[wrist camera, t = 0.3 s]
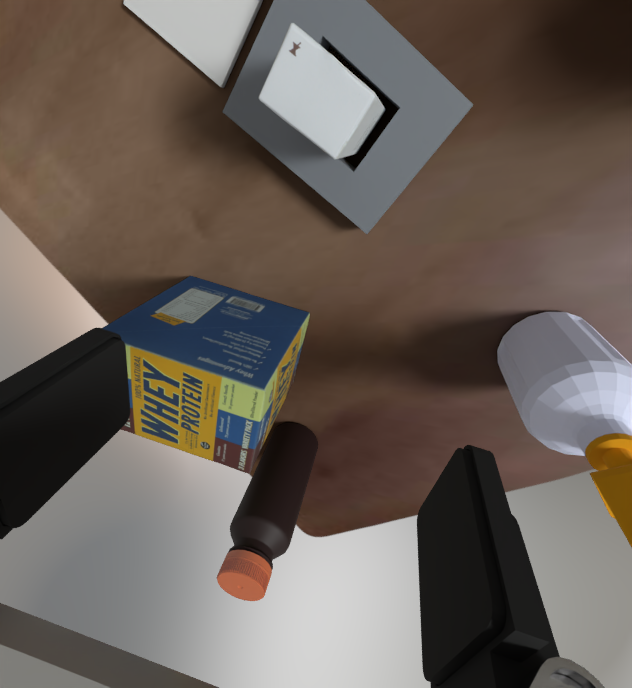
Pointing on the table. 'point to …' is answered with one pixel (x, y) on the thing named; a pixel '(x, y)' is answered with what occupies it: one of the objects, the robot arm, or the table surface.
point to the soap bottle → (575, 399)
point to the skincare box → (320, 96)
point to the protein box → (209, 368)
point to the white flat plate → (202, 29)
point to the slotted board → (383, 73)
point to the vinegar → (268, 512)
